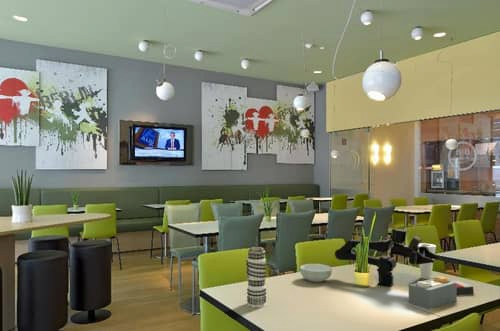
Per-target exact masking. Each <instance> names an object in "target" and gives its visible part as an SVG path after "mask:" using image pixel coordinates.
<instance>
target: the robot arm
mask: <svg viewBox="0 0 500 331" xmlns="http://www.w3.org/2000/svg"><path fill="white" fill-rule="evenodd" d="M407 232H408V231H407V230H405V229H403V228H392V234H391V238H390V239H383V240H381V239H380V240H375V241H374V240H373V241H372V240H368V241H369V249H368V250H374V251H377V252H380V253H387V252H389V251H390V252H389V253H388V254H389V255H390V256H387V255H381V256H379V257H376V256H372V255H368V264H367V265H371V266H376V267H377V268H376V271H377V273H378V282H377V285H379V286H385V287H392V286H393V285H394V275H393V271H394V269H395V268H396V267H397V261H396V260H395V257H396V256H400V257H403V259H408V262H409V264H410V265H413V266H415V265H416V266H417V265H419V264H425V263H433V264H434V263H435V260H436V259H437V260H439V259H440V255H437V254H436V253H435V254H434V253H432V252H430V251H429V250H428V247H427V246H424V245H423V246H421V247H418V245H419V243H422V241H423V240H422V239H421V238H420V236H413V237H412V239H411V240H410V243H409V244H408V245H404V243H405V242H406V240H407ZM361 241H362V240H358V239H356V240H355V239H349V240H348V241H347V242H346V243H344V244H343V245H342V246H341V247H340V248H337V249H336V250H335V251H334V257H335V258H336V260H339V261H354V262H357V261H356V254H355V253H356V252H354V251H352V250H353V249H354V248H355V249H357V248H356V245H357V244H358V243H360V242H361ZM418 249H419V250H418ZM432 259H434V260H432Z"/></svg>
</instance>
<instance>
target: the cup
mask: <svg viewBox="0 0 500 331" xmlns="http://www.w3.org/2000/svg"><path fill="white" fill-rule="evenodd" d="M423 245H424V246H427V247H428V250H429V251H430V252H432V253H434V254H436V249H437V245H436V244H432V243H425V242H424V243H422V242H420V243H419V245H418V247H421V246H423ZM418 250H419V249H418ZM432 260H434V261H435V259H432ZM433 266H434V262H433V263H425V264H418V267H419V272H420V277H421V279H425V280H429V279H432V273H433V268H434V267H433Z"/></svg>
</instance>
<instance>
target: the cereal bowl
mask: <svg viewBox="0 0 500 331" xmlns="http://www.w3.org/2000/svg"><path fill="white" fill-rule="evenodd" d="M299 271H300V274H301V276H302V278H304V279H305V280H308V281H309V280H310V281H309V282H311V281H313V282H312V283H322V282H323V281H327V280H328V279H329V278H330V277H331V275H332V272H333V269H332V267H331V266H329V265H326V264H323V263H322V264H321V263H306V264H302V265H301V266H300V267H299ZM321 281H322V282H321Z"/></svg>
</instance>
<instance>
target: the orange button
mask: <svg viewBox="0 0 500 331" xmlns="http://www.w3.org/2000/svg"><path fill="white" fill-rule="evenodd" d="M435 278H436V282H440V283H448V281H449V279H448V277H445V276H435Z"/></svg>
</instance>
